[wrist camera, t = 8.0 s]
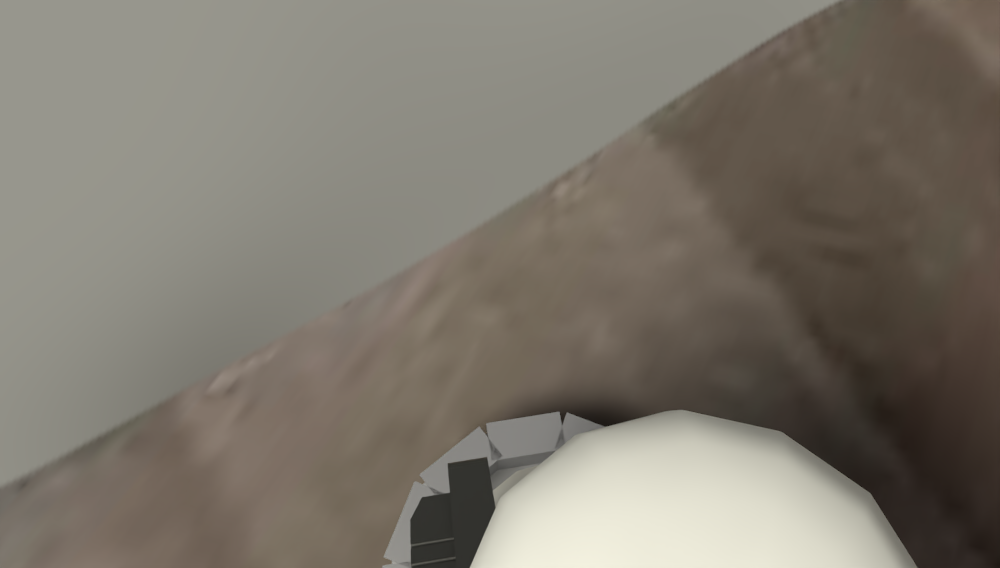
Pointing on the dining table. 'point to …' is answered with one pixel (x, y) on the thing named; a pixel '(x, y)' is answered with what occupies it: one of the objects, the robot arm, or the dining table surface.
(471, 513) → the robot arm
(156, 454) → the dining table surface
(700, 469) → the salt shaker
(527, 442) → the bowl
